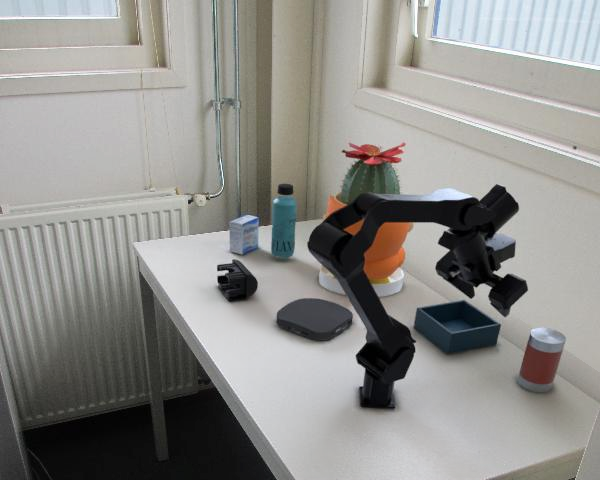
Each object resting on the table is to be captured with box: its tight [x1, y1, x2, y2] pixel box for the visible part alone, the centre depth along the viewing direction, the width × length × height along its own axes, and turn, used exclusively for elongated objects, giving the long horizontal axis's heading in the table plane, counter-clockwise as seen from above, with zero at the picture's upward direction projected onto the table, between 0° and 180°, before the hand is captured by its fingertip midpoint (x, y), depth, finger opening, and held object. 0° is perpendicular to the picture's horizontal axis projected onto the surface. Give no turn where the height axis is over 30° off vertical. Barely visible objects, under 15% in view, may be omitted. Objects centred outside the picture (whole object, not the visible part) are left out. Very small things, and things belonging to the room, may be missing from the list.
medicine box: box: [228, 214, 260, 256], centre depth 186 cm, size 8×4×9 cm, turn 148°
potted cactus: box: [318, 141, 415, 298], centre depth 162 cm, size 22×22×35 cm
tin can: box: [517, 327, 567, 393], centre depth 133 cm, size 7×7×11 cm
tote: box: [413, 299, 502, 355], centre depth 150 cm, size 13×13×5 cm
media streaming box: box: [275, 297, 354, 341], centre depth 152 cm, size 15×15×3 cm
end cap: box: [216, 258, 259, 303], centre depth 162 cm, size 10×7×7 cm
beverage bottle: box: [270, 183, 298, 258], centre depth 179 cm, size 6×7×20 cm
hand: (489, 306), depth 133 cm, fingers open, 9 cm apart
